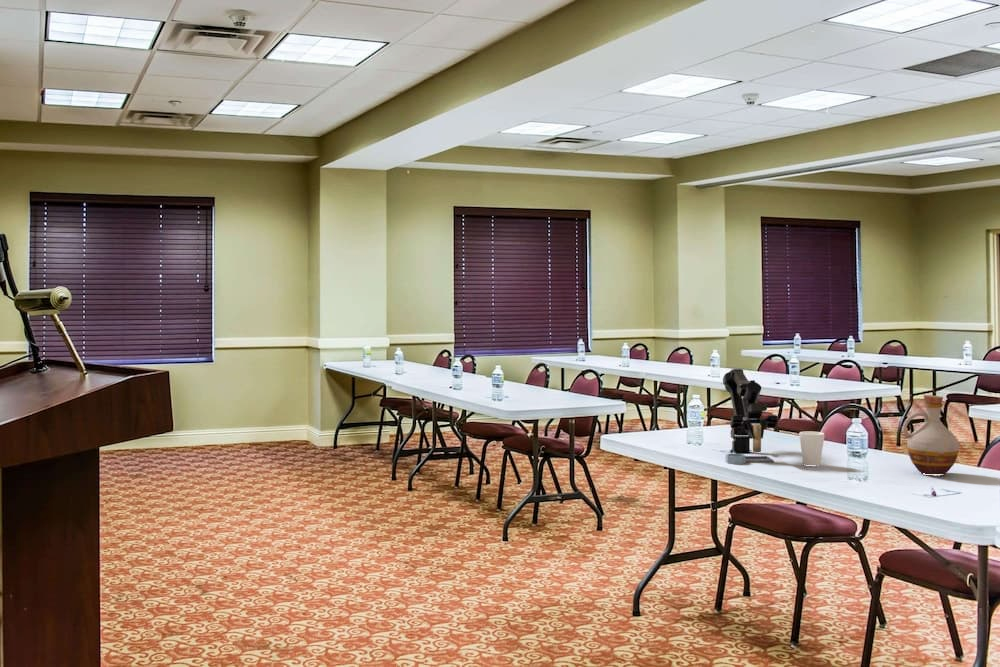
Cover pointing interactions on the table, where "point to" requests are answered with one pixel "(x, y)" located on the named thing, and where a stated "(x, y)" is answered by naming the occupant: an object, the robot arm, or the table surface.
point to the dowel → (757, 438)
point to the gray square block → (735, 458)
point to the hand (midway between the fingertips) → (757, 438)
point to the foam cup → (811, 447)
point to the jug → (931, 440)
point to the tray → (758, 459)
